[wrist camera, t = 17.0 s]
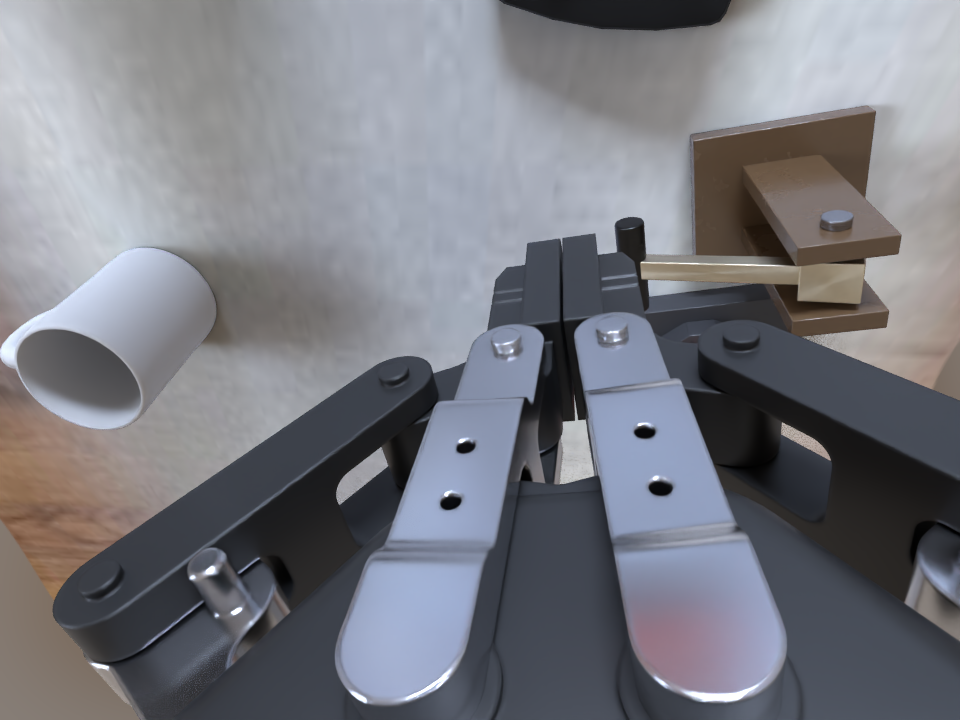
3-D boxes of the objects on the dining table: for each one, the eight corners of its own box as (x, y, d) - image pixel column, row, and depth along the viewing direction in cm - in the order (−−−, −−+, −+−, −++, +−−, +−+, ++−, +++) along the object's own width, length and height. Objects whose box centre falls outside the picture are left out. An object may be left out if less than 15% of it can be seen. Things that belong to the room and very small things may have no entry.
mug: (200, 246, 48) (119, 325, 40) (230, 343, 53) (163, 434, 44) (47, 245, 50) (-66, 322, 41) (90, 341, 55) (-2, 428, 46)
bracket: (693, 265, 46) (732, 375, 35) (689, 134, 41) (735, 216, 30) (851, 245, 44) (942, 355, 33) (867, 105, 39) (981, 181, 28)
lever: (628, 296, 40) (617, 317, 39) (620, 213, 38) (608, 232, 36) (857, 307, 35) (856, 332, 33) (870, 210, 32) (870, 232, 30)
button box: (617, 399, 53) (621, 433, 50) (607, 301, 48) (610, 331, 45) (778, 384, 50) (793, 418, 47) (784, 280, 46) (802, 309, 42)
